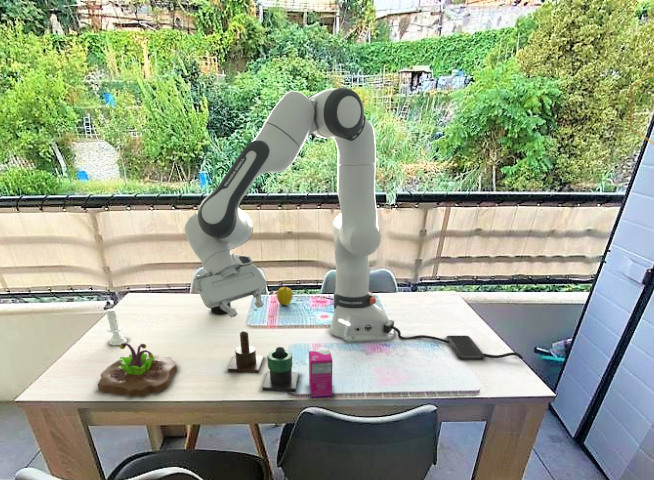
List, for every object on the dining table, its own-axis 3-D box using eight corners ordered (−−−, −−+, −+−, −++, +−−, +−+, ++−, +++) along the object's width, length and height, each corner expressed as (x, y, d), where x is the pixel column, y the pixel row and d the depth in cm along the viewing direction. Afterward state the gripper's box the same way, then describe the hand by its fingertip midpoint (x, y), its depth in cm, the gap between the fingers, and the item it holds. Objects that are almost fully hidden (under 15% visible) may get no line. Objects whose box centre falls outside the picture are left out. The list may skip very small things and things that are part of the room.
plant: (120, 360, 128) (111, 327, 122) (183, 361, 127) (177, 328, 122) (88, 396, 111) (76, 359, 105) (161, 398, 110) (153, 361, 104)
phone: (459, 356, 128) (445, 335, 141) (459, 359, 129) (445, 338, 142) (485, 356, 128) (468, 335, 141) (484, 359, 129) (468, 338, 142)
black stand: (298, 375, 120) (298, 340, 114) (295, 392, 113) (294, 355, 107) (268, 374, 121) (266, 338, 115) (262, 391, 113) (260, 353, 107)
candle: (120, 346, 136) (112, 311, 130) (106, 344, 137) (97, 310, 131) (130, 339, 141) (122, 305, 135) (115, 338, 142) (107, 304, 136)
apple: (286, 308, 165) (286, 289, 161) (274, 305, 168) (273, 286, 164) (296, 304, 170) (295, 285, 166) (283, 301, 173) (282, 282, 169)
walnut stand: (263, 359, 129) (262, 325, 123) (258, 373, 121) (256, 338, 115) (235, 357, 130) (232, 324, 124) (228, 372, 122) (224, 336, 116)
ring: (280, 358, 118) (280, 347, 116) (296, 366, 114) (296, 354, 112) (263, 366, 114) (262, 355, 112) (279, 375, 110) (279, 363, 108)
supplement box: (308, 387, 115) (308, 350, 109) (329, 386, 115) (330, 349, 110) (310, 398, 110) (310, 360, 104) (332, 397, 110) (334, 359, 105)
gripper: (194, 270, 107) (221, 316, 106) (255, 255, 120) (279, 296, 119) (187, 283, 111) (213, 327, 111) (246, 267, 124) (269, 307, 124)
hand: (247, 311), depth 115 cm, fingers open, 8 cm apart
